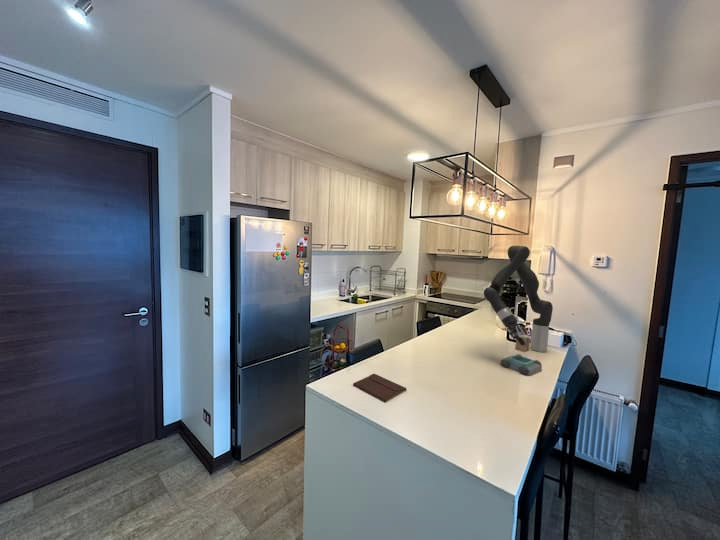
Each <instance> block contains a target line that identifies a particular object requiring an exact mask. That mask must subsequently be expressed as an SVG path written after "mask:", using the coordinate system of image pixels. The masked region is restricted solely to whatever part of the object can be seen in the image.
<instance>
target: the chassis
mask: <svg viewBox="0 0 720 540" xmlns="http://www.w3.org/2000/svg"><path fill="white" fill-rule="evenodd" d="M500 366H502V368H508V369H511V370H512V371H516V372H518V373H519V374H521V375H523V376H524V375H526V376H528V377H530V376H532V375H535V374H536V373H537V374H538V373H539V372H541V371H542V370H543V369H542V367H543V365H542V363H541V362H540V361H539V360H537V359H536V360H535V359H531V358H528V357H526V356H523V355H521V354H519V353H517V354H515V355H510V356H507V357H505V358H502V359H500Z"/></svg>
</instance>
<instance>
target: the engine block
mask: <svg viewBox="0 0 720 540" xmlns="http://www.w3.org/2000/svg"><path fill="white" fill-rule="evenodd" d="M517 336H518V335H517ZM520 338H522V340H523V341H524V342H525V344H524V345H521V344H520V343H519V341H518V340H516V339H515V348H514V350H516V351H519V352H522V353H527V352H529V351H530V346H531V337H530V336H529V335H527V336H525V335H522V334H521V335H520Z"/></svg>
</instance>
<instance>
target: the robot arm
mask: <svg viewBox="0 0 720 540" xmlns="http://www.w3.org/2000/svg"><path fill="white" fill-rule="evenodd" d="M530 254H531V252H530V248H529V247H528V246H524V245H512V246H509V247H508V250H507V257H508V258H509V261H510V262H509V264H507V265H506V266H504V267H503V268H502V269H500V270H498V272H497V273H496V274H495V276H494V278H492V280H491V284H490V285H489V286H488V287H485V289H484V290H483V297H484V299H485V300H486V301H487V302H489V303H490V305H491V308H492V310H493V311H494V312H495V313H496V316H497V317H498V319H499V320H500V322H501V323H502V324H503V326H504V327H505V328H507V329H506V332H507V333H508V334H509V335H510V336H511V338H512V339H513V340H515V341H516V340H518V341H519V343H520V344H521V345H524V344H525V342H524V341H523V340H522V338H520V335H521V334H522V335H525V336H528V333H527V331H526V329H525V327H524V326H523V325H520V324H518V321H519V320H518V318H516V316H515V315H514V314H513V312H512V311H511V310H510V309H509V307H508V306H507V305H506V303H505V302H504V301H503V300H502V298H501V296H500V295H499V294H500V293H501V290H502V288H503V287H504V286H505V285H506V283H507V282H508V280H509V279H510V277H512V275H513V274H515V272H516V273H517V275H518V277H519V280H520V283H521V284H522V287H523V289H524V291H525V293H526V296H527V299H528V302H529V305H530V308H531V310H532V312H534V313H535V314H539V317H537V318H534V319H533V320H532V325H531V326H532V330H531V337H530V350H532V351H534V352H540V353H546V352H548V350H547V349H548V344H549V343H548V340H549V329H550V323H551V322H552V321H551V320H552V315H553V311H554V310H553V309H554V307H553V304H552V302H550V301H548V300H543V299H541V298H540V297H539V294H538V290H539V287H540V281H539V279H538V276H537V274H536V273H535V271H534V270H532V268H530V267H529V266H528V265H527V264H526V261H527V259H529V256H530ZM517 335H518V336H517Z"/></svg>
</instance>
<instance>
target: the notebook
mask: <svg viewBox="0 0 720 540" xmlns="http://www.w3.org/2000/svg"><path fill="white" fill-rule="evenodd" d="M352 386H353V387H355V388H357V389H359V390H360V391H363V392H364V393H366V394H369V395H370V396H372V397H374V398H376V399H378V400H380V401H381V402H383V403H385V404H386V403H387V402H390V400H393V399H394V398H396V397H397V396H400V395H401V394H403V393H405V392H407V387H405V386H403V385H401V384H398V383H396V382H394V381H392V380H389V379H387V378H385V377H383V376H381V375H379V374H376V373H372V374H370V375H368V376H366V377H364V378H362V379H360V380H358V381H356V382H354V383H352Z"/></svg>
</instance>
